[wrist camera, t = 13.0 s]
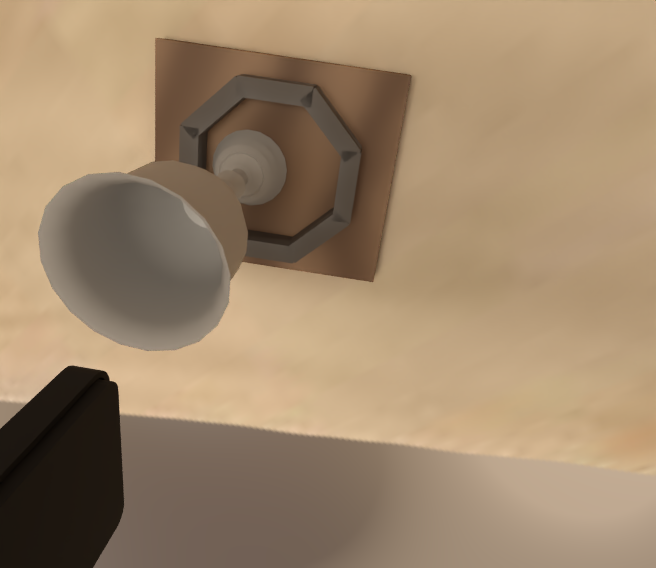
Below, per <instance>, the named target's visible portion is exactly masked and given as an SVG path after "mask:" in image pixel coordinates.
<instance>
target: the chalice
mask: <svg viewBox="0 0 656 568" xmlns="http://www.w3.org/2000/svg"><path fill="white" fill-rule="evenodd" d="M212 167H213V172H214V174H212V173H210V172H208V171H207V170H205V169H202V168H200V167H197V166H194V165H190V164H186V163H182V162H177V161H173V160H172V161H159V162H151V163H149V164H146V165H144V166H142V167H140V168H138V169H136V170H134V171H131V172H129V173H127V174H125V173H121V172H113V173H99V174H88V175H86V176H84V177H82V178H79V179H77V180H75V181H73V182H71V183H69V184H67V185H65V186H63V187H62V188H61V189H60V190H59V191H58V193H57V194H56V195H55V196H54V197H53V199H52V200H51V201H50V202H49V203H48V204H47V206H46V207H45V210H44V214H43V217H42V221H41V224H40V228H39V231H38V237H39V247H40V258H41V263H42V265H43V267H44V270H45V272H46V274H47V277H48V279H49V281H50V284H51V286H52V288H53V290H54V291H55V292H56V294H57V295H58V296H59V297H60V299H61V300H62V301H63V303H64V304H65V305H66V307H67V308H68V309H69V310H70V312H71V313H73V314H74V315H75V316H76V317H77V318H79V319H80V320H81V321H82V322H83V323H85V324H86V325H87V326H88V327H90V328H91V329H92V330H93V331H95V332H97V333H99V334H101V335H103V336H105V337H107V338H109V339H111V340H113V341H115V342H117V343H119V344H121V345H125V346H129V347H133V348H138V349H142V350H146V351H164V350H177V349H180V348H182V347H185V346H188V345H191V344H194V343H196V342H199V341H200V340H201V339H202V338H204V337H205V336H206V335H207V334H208V333H209V332H211V331H212V330H213V329H214V328H215V327H216V326H217V325H218V324H219V322H220V320H221V317H222V315H223V313H224V311H225V309H226V307H227V305H228V303H229V291H230V281H231V279H232V278H233V276H234V275H235V273H236V272H237V270H238V269H239V267H240V264H241V262H242V260H243V258H244V256H245V254H246V251H247V238H248V231H247V227H246V223H245V219H244V215H243V211H242V207H241V204H240V203H242V204H247V205H259V204H264V203H266V202H268V201H270V200H272V199H273V198H274V197H275V196H276V195H277V194H278V193H280V191H281V189H282V187H283V185H284V183H285V180H286V173H287V168H286V162H285V157H284V155H283V154H282V152H281V150H280V148H279V146H278V145H277V144H276V143H275V142H274V141H273V140H272V139H271V138H270V137H268V136H266V135H264V134H262V133H261V132H258V131H253V130H240V131H235V132H233V133H231V134H229V135H227V136H226V137H225V138H224V139H223V140H222V141H221V142H220V143H219V144H218V146H217V148H216V150H215V153H214V155H213V166H212Z"/></svg>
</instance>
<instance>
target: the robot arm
mask: <svg viewBox="0 0 656 568" xmlns="http://www.w3.org/2000/svg"><path fill="white" fill-rule="evenodd" d="M121 455H122V453H121V434H120V414H119V395H118V386H117V384H116V383H115V382H112V381H110V380H109V376H108V374H107V372H105V371H101V370H95V369H90V368H84V367H78V366H68V367H67V368H65V369H64V370H63V371H61V372H60V373H59V374H58V375H57V376H56V377H55V378H54V379H53V380H52V381H51V382H50V383H49V384H48V385H47V386H45V387H44V388H43V389H42V390H41V391H40V392H39V393H38V394H37V395H36V396H35V397H34V398H33V399H32V400H31V401H30V402H28V403H27V404H26V405H25V406H24V407H23V408H22V409H21V410H20V411H19V412H18V413H17V414H16V415H15V416H14V417H12V418H11V419H10V420H9V421H8V422H7V423H6V424H5V425H4V426H3V427H2V428H1V429H0V568H93V567H94V565H95V563H96V561H97V560H98V558H99V556H100V554H101V553H102V551H103V550H104V548H105V546H106V545H107V543H108V541H109V539H110V538H111V536H112V535H113V533H114V531H115V530H116V528H117V526H118V524H119V522H120V519H121V516H122V513H123V508H124V495H123V494H124V493H123V474H122V456H121Z"/></svg>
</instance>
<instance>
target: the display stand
mask: <svg viewBox="0 0 656 568" xmlns="http://www.w3.org/2000/svg"><path fill="white" fill-rule="evenodd" d="M410 80H411V75H407V74H401V73H394V72H387V71H380V70H373V69H367V68H360V67H353V66H346V65H340V64H333V63H326V62H319V61H312V60H306V59H299V58H292V57H285V56H279V55H272V54H265V53H258V52H251V51H245V50H238V49H231V48H224V47H217V46H211V45H204V44H197V43H190V42H184V41H177V40H170V39H161V38H155V162H159V161H172V160H173V161H177V162H182V163H186V164H190V165H194V166H197V167H200V168H202V169H205V170H207V171H208V172H210V173H212V174H214V172H213V167H212V166H213V155H214V153H215V150H216V148H217V146H218V144H219V143H220V142H221V141H222V140H223V139H224V138H225V137H226V136H227V135H229V134H231V133H233V132H235V131H240V130H253V131H258V132H261V133H262V134H264V135H266V136H268V137H270V138H271V139H272V140H273V141H274V142H275V143H276V144H277V145H278V146H279V148H280V150H281V152H282V154H283V155H284V157H285V162H286V168H287V173H286V180H285V183H284V185H283V187H282V189H281V191H280V193H278V194H277V195H276V196H275V197H274V198H273V199H272V200H270V201H268V202H266V203H264V204H259V205H247V204H242V203H240V204H241V207H242V211H243V215H244V219H245V223H246V227H247V231H248V238H247V251H246V254H245V256H244V258H243V260H242V262H247V263H253V264H260V265H266V266H273V267H279V268H285V269H292V270H298V271H305V272H311V273H318V274H324V275H331V276H337V277H343V278H350V279H356V280H363V281H369V282H373V280H374V275H375V269H376V264H377V258H378V253H379V248H380V242H381V237H382V231H383V226H384V221H385V215H386V210H387V204H388V199H389V193H390V188H391V183H392V177H393V172H394V166H395V161H396V156H397V150H398V145H399V139H400V134H401V128H402V123H403V118H404V112H405V107H406V101H407V96H408V91H409V85H410Z"/></svg>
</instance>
